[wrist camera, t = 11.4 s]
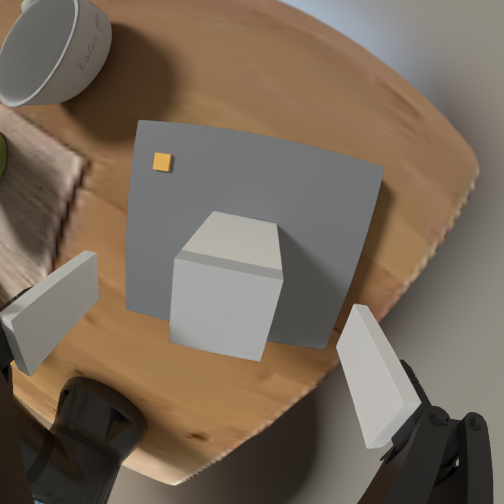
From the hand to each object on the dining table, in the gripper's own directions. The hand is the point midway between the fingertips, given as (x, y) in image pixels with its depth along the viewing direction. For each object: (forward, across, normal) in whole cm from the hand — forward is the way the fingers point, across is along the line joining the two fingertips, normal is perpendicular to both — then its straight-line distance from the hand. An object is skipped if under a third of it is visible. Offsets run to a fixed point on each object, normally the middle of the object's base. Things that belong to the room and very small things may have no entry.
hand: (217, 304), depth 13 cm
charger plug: (+11, 0, 0) cm, 11 cm away
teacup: (+12, +20, -16) cm, 28 cm away
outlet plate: (+11, 0, 0) cm, 11 cm away
